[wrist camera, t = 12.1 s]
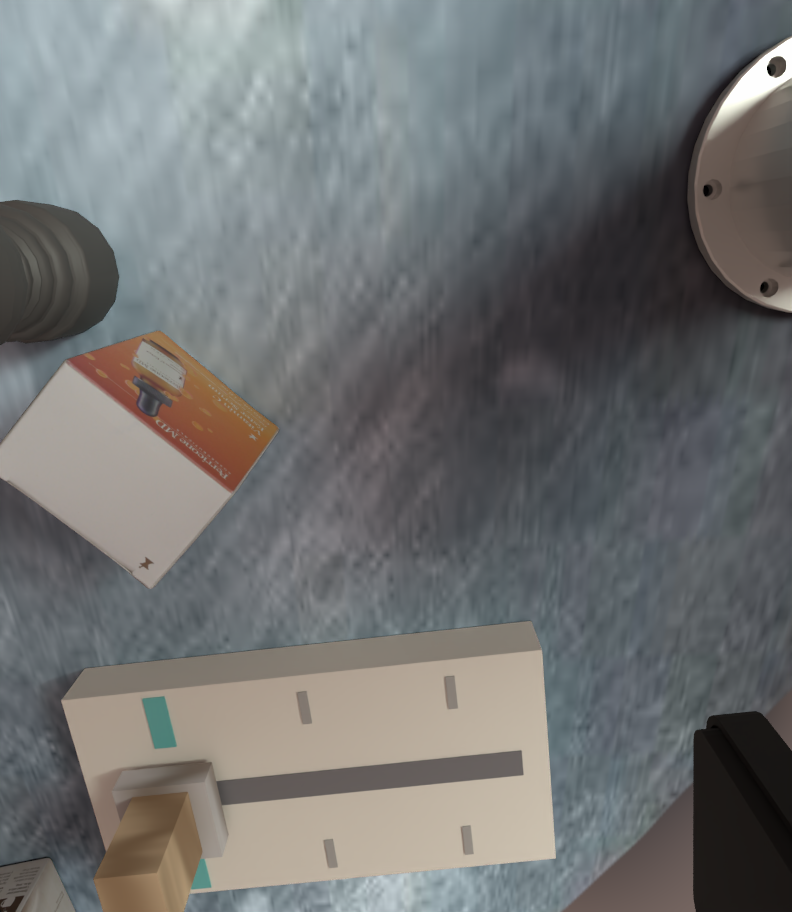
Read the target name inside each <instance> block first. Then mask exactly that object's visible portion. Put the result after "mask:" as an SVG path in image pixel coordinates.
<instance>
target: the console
mask: <svg viewBox="0 0 792 912" xmlns="http://www.w3.org/2000/svg"><path fill="white" fill-rule="evenodd" d="M61 702H62V705H63V709H64V712H65V715H66V719H67V722H68V725H69V729H70V732H71V735H72V739H73V742H74V746H75V749H76V752H77V756H78V759H79V762H80V766H81V769H82V772H83V776H84V779H85V783H86V786H87V789H88V793H89V796H90V799H91V803H92V806H93V809H94V813H95V816H96V820H97V823H98V826H99V830H100V833H101V836H102V840H103V843H104V846H105V850H106V852H107V849H108V847H109V845H110V843H111V841H112V839H113V837H114V835H115V833H116V831H117V829H118V826H119V824H120V819H119V815H118V812H117V808H116V805H115V801H114V798H113V794H112V790H113V788H114V786H115V784H116V782H117V780H118V778H119V777H120V775H121V773H122V771H129V770H139V769H148V768H158V767H168V766H178V765H188V764H197V763H207V762H212V765H213V769H214V774H215V778H216V782H217V787H218V791H219V795H220V800H221V804H222V808H223V812H224V817H225V821H226V825H227V830H228V834H229V835H228V839H227V842H226V846H225V850H224V853H223V857H216V858H206V859H200V862H199V865H198V868H197V871H196V874H195V877H194V880H193V884H192V887H191V890H190V893H189V894H192V893H202V892H212V891H223V890H233V889H243V888H254V887H264V886H274V885H285V884H295V883H306V882H316V881H326V880H337V879H347V878H357V877H368V876H378V875H388V874H399V873H409V872H419V871H430V870H440V869H451V868H461V867H471V866H482V865H492V864H502V863H513V862H523V861H533V860H544V859H554V858H556V855H555V840H554V824H553V809H552V794H551V779H550V764H549V748H548V733H547V718H546V703H545V688H544V673H543V657H542V649H541V646H540V643H539V641H538V638H537V635H536V632H535V630H534V627H533V624H532V622H531V621H525V622H516V623H506V624H497V625H488V626H478V627H469V628H459V629H450V630H441V631H431V632H422V633H413V634H403V635H394V636H384V637H375V638H366V639H356V640H347V641H338V642H328V643H319V644H309V645H300V646H291V647H281V648H272V649H263V650H253V651H244V652H234V653H225V654H216V655H206V656H197V657H187V658H178V659H169V660H159V661H150V662H141V663H131V664H122V665H112V666H103V667H94V668H85V669H84V670H83V672H82V673H81V674H80V676H79V677H78V678H77V680H76V681H75V682H74V684H73V685H72V686H71V688H70V689H69V691H68V692H67V693H66V695H65V696H64V697H63V699H62V700H61Z"/></svg>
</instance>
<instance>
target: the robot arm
mask: <svg viewBox="0 0 792 912" xmlns="http://www.w3.org/2000/svg"><path fill="white" fill-rule="evenodd" d="M767 66H768V67H769V68H770V69H771V74H770V76H769V75H768V73H767V69H766V68H767ZM704 185H705V186H707V187H708V188H709V193H708V195H707V196H704V194H703V188H704ZM687 202H688V209H689V216H690V223H691V228H692V231H693V233H694V236H695V239H696V242H697V245H698V248H699V250H700V252H701V254H702V255H703V257H704V259H705V260H706V262H707V264H708V265H709V267H710V269H711V270H712V271H713V272H714V273H715V274H716V275H717V277H718V278H719V279H720V280H721V281H722V282H723V283H724V284H725V285H726V286H727V287H728V288H730V289H731V290H733V291H734V292H735V293H737V294H738V295H740V296H741V297H743V298H744V299H746V300H748V301H750V302H753V303H755V304H758V305H760V306H763V307H765V308H768V309H774V310H779V311H783V312H790V313H792V36H791V37H789V38H786V39H785V40H783V41H781V42H779V43H778V44H776V45H774V46H773V47H771V48H769V49H768V50H766V51H764V52H763V53H762V54H760V55H759V56H758V57H757V58H756V59H754V60H753V61H752V62H751V63H749V64H748V65H747V66H746V67H745V68H743V69H742V70H741V71H740V72H739V73H738V74H737V76H736V77H735V78H734V79H733V80H732V81H731V82H730V84H729V85H728V86H727V87H726V88H725V89H724V91H723V92H722V93H721V94H720V96H719V98H718V99H717V101H716V102H715V104H714V106H713V107H712V109H711V111H710V112H709V114H708V115H707V117H706V119H705V121H704V124H703V126H702V129H701V131H700V134H699V136H698V138H697V141H696V143H695V146H694V151H693V155H692V160H691V164H690V169H689V173H688V195H687ZM762 283H764V289H763V290H762V291H761V292H760V286H761V284H762ZM693 819H694V820H693V821H694V824H693V828H694V829H693V836H694V838H693V839H694V840H693V847H694V848H693V850H694V851H693V855H694V856H693V875H694V876H693V894H694V903H695V909H696V912H792V751H791V750H790V748H789V747H788V746H787V744H786V743H785V742H784V741H783V739H782V738H781V737H780V735H779V734H778V733H777V732H776V730H775V729H774V728H773V727H772V725H771V724H770V723H769V721H768V720H767V719H766V718H765V717H764V716H763V715H762V714H761V713H759V712H757V711H753V712H743V713H733V714H723V715H713V716H710V717H709V718H708V721H707V726H706V729H701V730H696V731H695V733H694V816H693ZM0 912H1V909H0Z"/></svg>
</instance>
